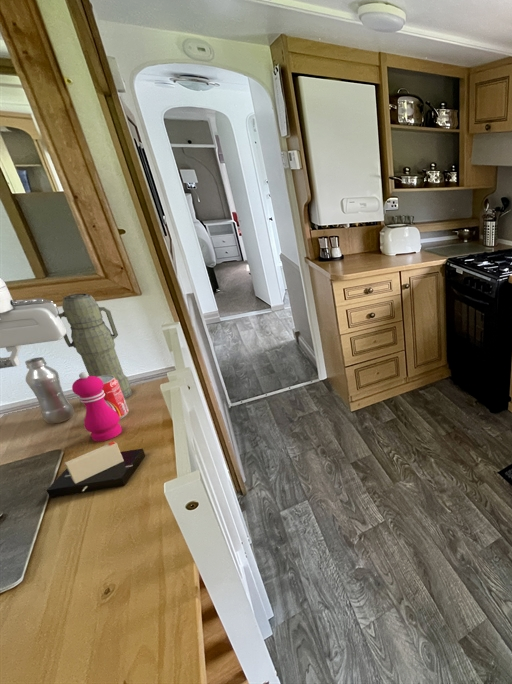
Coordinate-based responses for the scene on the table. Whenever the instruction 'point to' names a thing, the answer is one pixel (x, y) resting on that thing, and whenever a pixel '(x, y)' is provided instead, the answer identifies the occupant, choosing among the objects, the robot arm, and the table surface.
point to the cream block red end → (94, 462)
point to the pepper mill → (96, 408)
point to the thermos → (93, 338)
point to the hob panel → (99, 477)
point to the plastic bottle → (48, 391)
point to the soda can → (114, 395)
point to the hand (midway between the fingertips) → (8, 366)
